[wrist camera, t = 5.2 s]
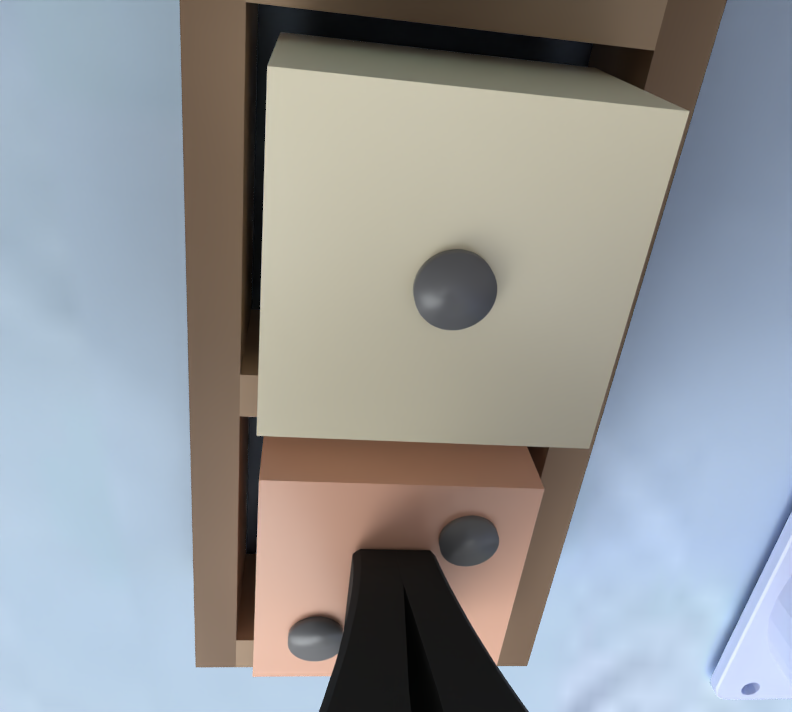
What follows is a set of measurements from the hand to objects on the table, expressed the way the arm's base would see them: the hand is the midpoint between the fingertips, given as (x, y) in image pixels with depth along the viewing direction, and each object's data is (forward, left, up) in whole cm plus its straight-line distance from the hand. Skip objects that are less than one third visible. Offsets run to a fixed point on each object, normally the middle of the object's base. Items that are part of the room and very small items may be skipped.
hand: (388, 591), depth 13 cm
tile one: (0, -6, -2) cm, 7 cm away
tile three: (0, 0, -3) cm, 3 cm away
